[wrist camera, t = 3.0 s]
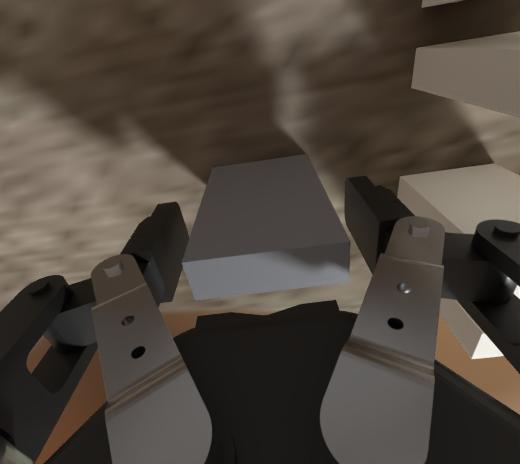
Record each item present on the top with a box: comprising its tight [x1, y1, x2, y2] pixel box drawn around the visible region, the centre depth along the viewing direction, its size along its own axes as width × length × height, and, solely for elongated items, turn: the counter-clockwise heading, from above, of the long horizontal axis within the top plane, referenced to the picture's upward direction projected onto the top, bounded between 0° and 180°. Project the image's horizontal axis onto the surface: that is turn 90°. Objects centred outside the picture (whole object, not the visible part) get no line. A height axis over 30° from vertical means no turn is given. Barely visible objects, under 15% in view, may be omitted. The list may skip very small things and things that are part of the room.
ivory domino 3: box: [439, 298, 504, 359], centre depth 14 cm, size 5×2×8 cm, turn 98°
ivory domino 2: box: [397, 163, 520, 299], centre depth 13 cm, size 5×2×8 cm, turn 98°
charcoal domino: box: [182, 154, 350, 300], centre depth 12 cm, size 5×2×8 cm, turn 98°
